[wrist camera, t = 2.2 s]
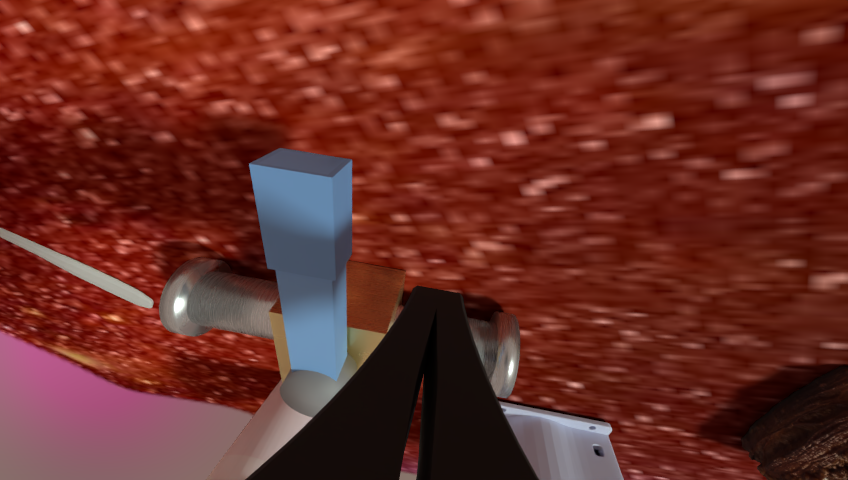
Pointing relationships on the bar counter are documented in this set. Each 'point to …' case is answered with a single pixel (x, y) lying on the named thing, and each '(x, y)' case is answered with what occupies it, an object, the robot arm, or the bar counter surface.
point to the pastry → (805, 433)
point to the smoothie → (260, 438)
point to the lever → (308, 266)
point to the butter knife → (81, 270)
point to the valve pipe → (366, 313)
